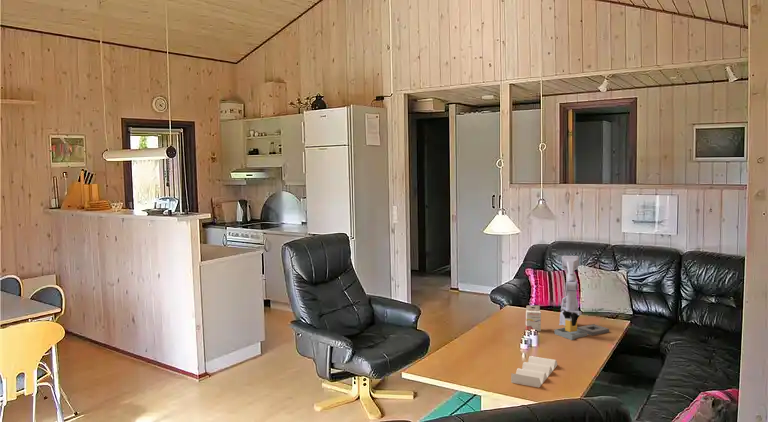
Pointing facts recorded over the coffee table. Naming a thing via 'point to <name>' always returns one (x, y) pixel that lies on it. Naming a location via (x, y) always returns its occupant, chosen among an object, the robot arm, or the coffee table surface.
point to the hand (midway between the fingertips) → (570, 324)
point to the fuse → (570, 325)
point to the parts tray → (570, 333)
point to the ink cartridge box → (533, 318)
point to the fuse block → (593, 329)
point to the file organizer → (534, 371)
